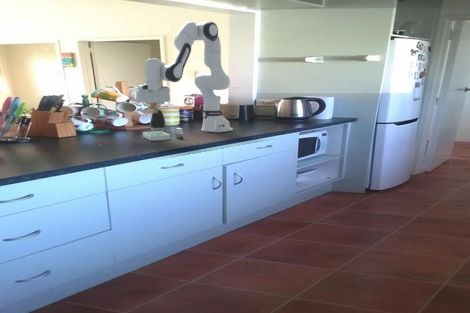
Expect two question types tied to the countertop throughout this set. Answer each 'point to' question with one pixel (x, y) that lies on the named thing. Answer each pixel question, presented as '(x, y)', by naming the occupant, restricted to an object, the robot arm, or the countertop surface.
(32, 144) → the countertop surface
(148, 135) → the tray
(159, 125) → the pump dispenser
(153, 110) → the beech block
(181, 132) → the metal cylinder
